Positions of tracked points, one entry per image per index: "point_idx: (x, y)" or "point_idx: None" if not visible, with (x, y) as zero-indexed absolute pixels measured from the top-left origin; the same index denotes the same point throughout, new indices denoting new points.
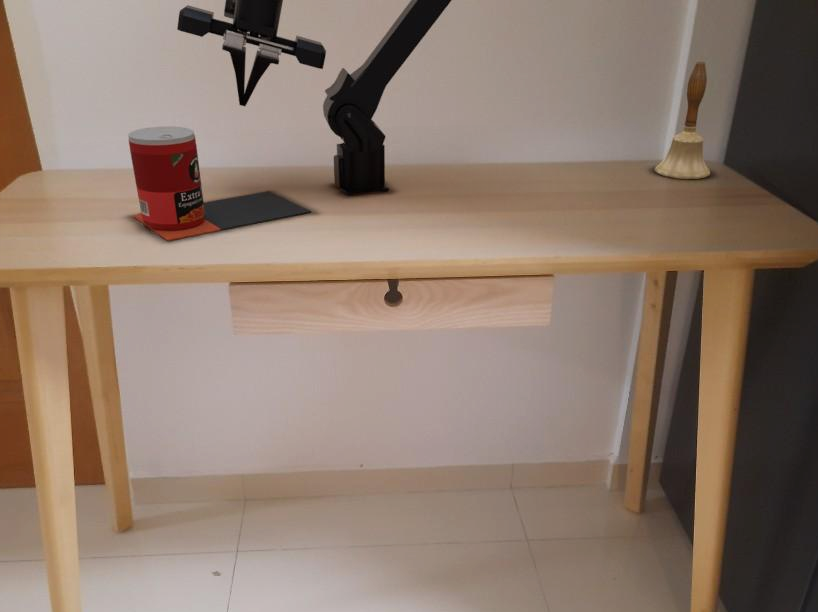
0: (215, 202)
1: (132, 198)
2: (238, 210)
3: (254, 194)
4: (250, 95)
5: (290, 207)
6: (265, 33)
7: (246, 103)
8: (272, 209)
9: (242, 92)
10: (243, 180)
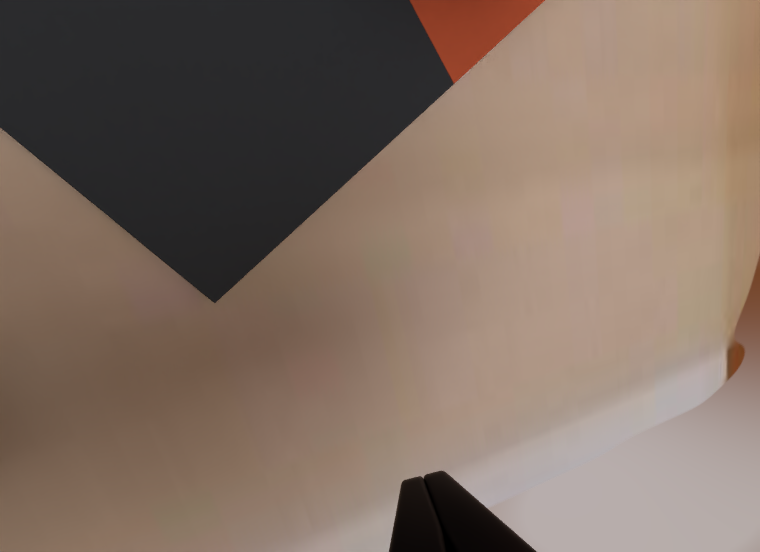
0: (365, 136)
1: (583, 175)
2: (255, 27)
3: (256, 251)
4: (392, 550)
5: (21, 78)
6: None
7: (401, 494)
8: (104, 42)
9: (466, 535)
10: (340, 405)
